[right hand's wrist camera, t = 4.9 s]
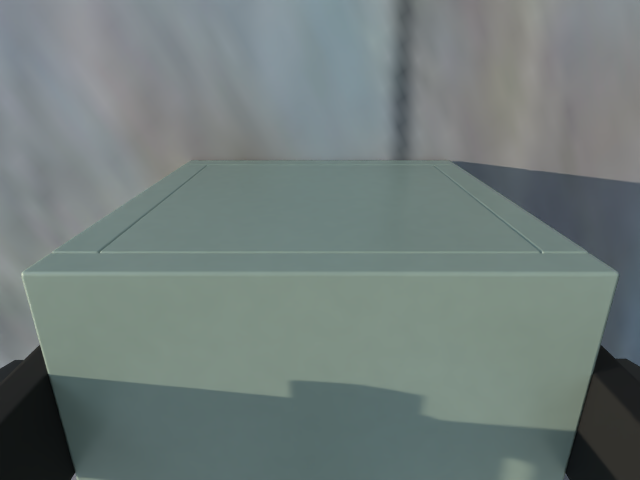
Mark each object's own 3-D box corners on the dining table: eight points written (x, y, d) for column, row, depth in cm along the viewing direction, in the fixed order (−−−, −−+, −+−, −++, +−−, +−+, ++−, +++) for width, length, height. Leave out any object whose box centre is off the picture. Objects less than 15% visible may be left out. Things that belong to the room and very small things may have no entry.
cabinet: (411, 516, 26) (472, 812, 15) (228, 516, 26) (167, 812, 15) (450, 160, 18) (623, 273, 8) (190, 160, 18) (17, 272, 8)
